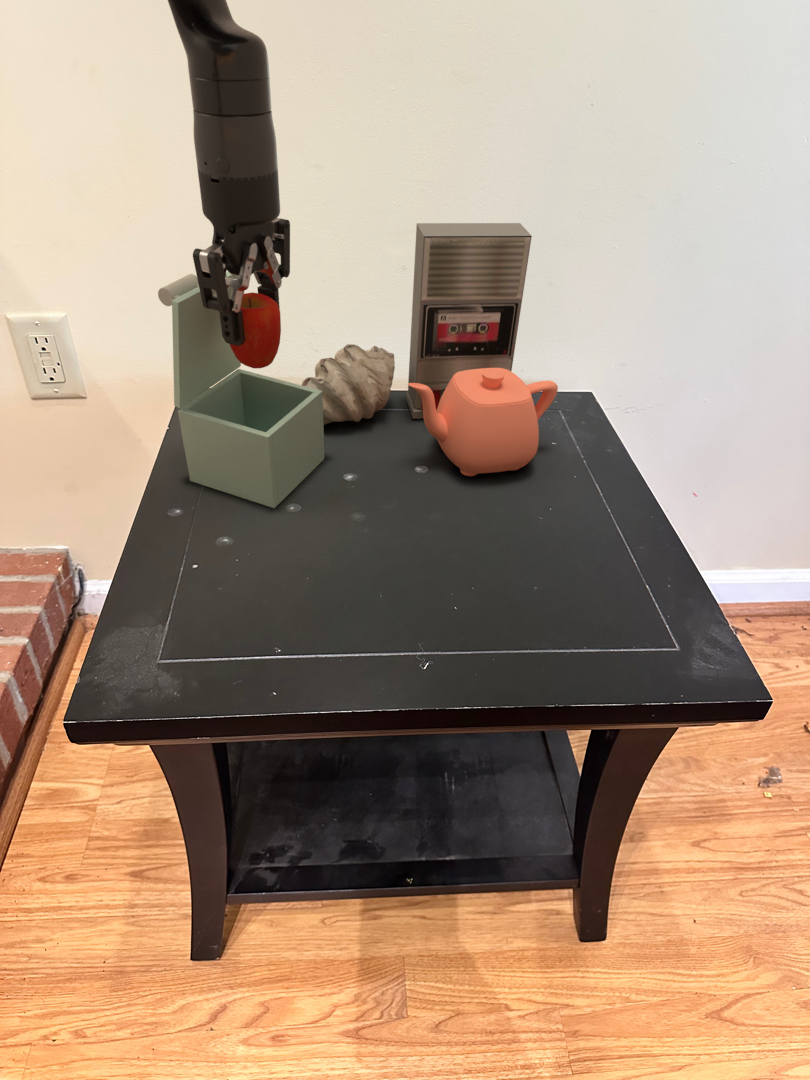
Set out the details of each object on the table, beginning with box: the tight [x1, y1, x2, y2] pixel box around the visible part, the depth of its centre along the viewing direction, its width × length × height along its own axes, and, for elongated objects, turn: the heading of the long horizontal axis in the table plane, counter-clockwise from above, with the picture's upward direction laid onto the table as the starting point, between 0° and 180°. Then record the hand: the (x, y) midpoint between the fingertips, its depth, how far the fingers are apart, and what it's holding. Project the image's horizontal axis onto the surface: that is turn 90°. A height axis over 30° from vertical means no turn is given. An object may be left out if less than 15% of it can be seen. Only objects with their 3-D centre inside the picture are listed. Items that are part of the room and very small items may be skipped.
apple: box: [230, 292, 282, 369], centre depth 80 cm, size 6×6×8 cm
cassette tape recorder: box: [405, 222, 533, 420], centre depth 98 cm, size 14×6×25 cm, turn 99°
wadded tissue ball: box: [301, 343, 396, 425], centre depth 100 cm, size 10×15×10 cm
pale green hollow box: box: [177, 368, 325, 509], centre depth 89 cm, size 12×12×10 cm
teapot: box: [407, 368, 559, 477], centre depth 93 cm, size 13×20×12 cm, turn 106°
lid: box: [157, 271, 245, 409], centre depth 83 cm, size 13×12×5 cm
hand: (252, 331), depth 80 cm, fingers closed on apple, 6 cm apart
